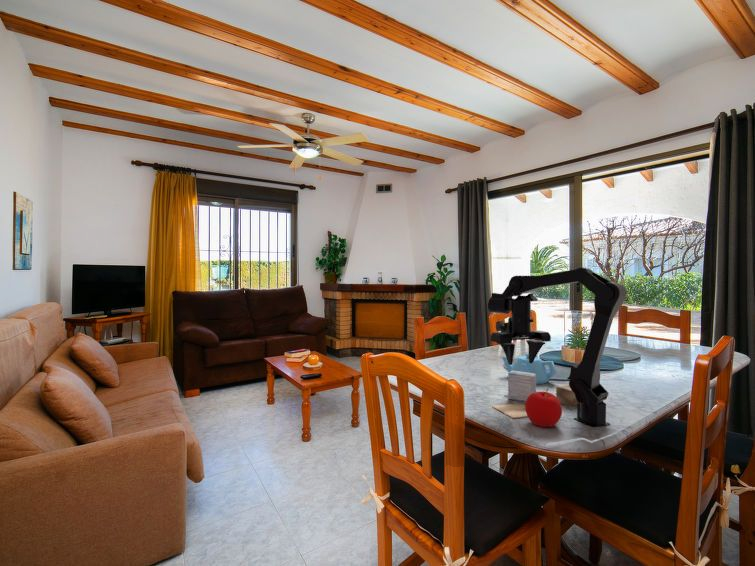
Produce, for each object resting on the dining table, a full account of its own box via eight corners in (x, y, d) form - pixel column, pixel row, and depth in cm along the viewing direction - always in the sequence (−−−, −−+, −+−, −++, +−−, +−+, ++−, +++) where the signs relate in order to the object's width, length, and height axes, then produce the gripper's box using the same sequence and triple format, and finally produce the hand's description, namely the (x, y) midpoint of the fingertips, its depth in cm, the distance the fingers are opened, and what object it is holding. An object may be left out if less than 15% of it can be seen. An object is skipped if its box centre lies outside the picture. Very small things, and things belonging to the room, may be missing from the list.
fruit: (550, 434, 93) (550, 395, 93) (518, 422, 101) (518, 386, 100) (568, 426, 99) (569, 388, 99) (537, 415, 106) (537, 381, 106)
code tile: (541, 406, 116) (541, 404, 116) (526, 407, 114) (526, 405, 114) (518, 395, 126) (518, 393, 126) (503, 397, 124) (503, 395, 124)
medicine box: (536, 400, 119) (536, 373, 119) (533, 403, 116) (533, 376, 116) (511, 395, 124) (511, 369, 124) (507, 399, 120) (507, 372, 120)
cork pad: (542, 415, 106) (542, 414, 106) (513, 418, 103) (513, 417, 103) (519, 403, 116) (519, 402, 116) (492, 407, 113) (492, 406, 113)
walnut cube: (580, 404, 116) (580, 388, 116) (570, 406, 114) (570, 390, 113) (566, 399, 120) (566, 384, 120) (556, 401, 118) (556, 386, 118)
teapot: (520, 387, 134) (520, 358, 134) (500, 377, 149) (501, 350, 149) (559, 386, 136) (559, 357, 136) (535, 375, 151) (536, 349, 151)
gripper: (528, 312, 127) (528, 357, 127) (481, 313, 122) (480, 360, 122) (552, 315, 117) (551, 364, 117) (501, 316, 111) (501, 367, 112)
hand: (520, 363), depth 117 cm, fingers open, 7 cm apart
